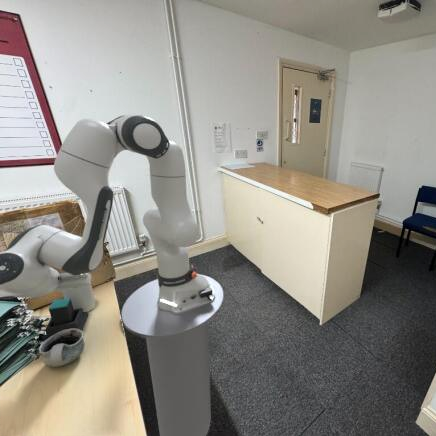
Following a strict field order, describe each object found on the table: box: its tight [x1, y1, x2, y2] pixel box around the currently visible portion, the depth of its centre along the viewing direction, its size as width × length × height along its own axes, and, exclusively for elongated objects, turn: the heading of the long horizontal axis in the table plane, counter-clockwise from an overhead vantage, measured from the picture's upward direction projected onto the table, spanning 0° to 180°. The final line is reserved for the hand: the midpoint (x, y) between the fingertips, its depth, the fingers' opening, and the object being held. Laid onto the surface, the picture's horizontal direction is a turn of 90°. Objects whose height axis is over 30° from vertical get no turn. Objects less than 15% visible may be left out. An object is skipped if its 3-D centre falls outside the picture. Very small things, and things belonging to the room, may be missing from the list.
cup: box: [61, 283, 96, 312], centre depth 89 cm, size 8×8×12 cm
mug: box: [38, 329, 86, 368], centre depth 69 cm, size 10×12×10 cm
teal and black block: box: [48, 298, 76, 326], centre depth 80 cm, size 4×4×9 cm
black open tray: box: [41, 308, 89, 342], centre depth 82 cm, size 10×9×4 cm
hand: (57, 288), depth 78 cm, fingers open, 8 cm apart
